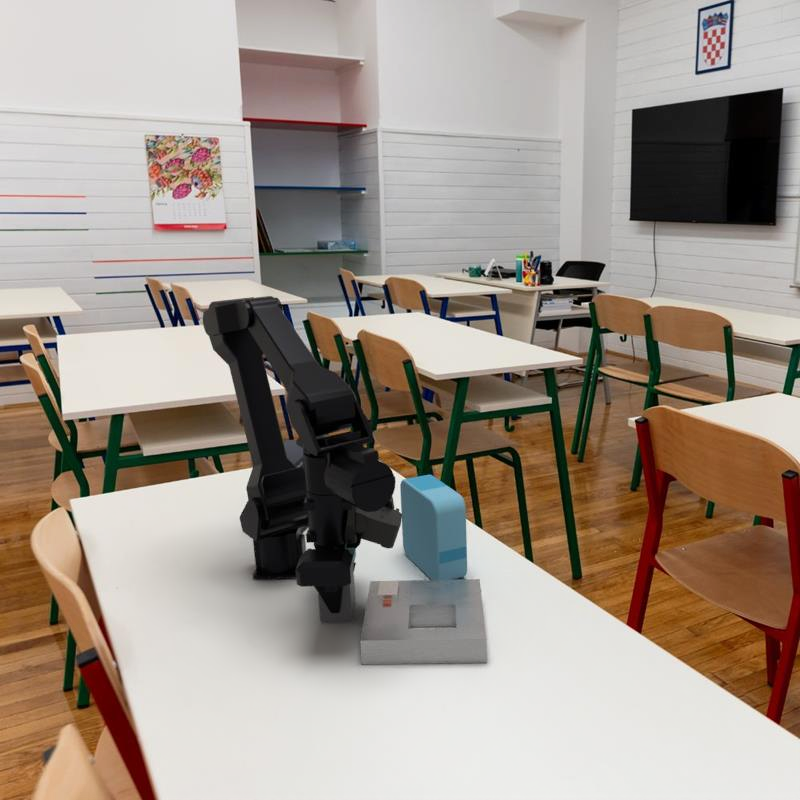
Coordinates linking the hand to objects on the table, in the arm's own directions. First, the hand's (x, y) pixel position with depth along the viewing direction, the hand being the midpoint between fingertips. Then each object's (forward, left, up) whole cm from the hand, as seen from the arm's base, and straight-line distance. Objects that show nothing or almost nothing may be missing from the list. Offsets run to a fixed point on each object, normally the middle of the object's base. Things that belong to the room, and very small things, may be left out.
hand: (337, 603), depth 97 cm
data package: (+12, +13, -2) cm, 18 cm away
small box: (-11, +31, -2) cm, 33 cm away
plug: (0, 0, -2) cm, 2 cm away
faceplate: (+11, -4, -2) cm, 12 cm away
